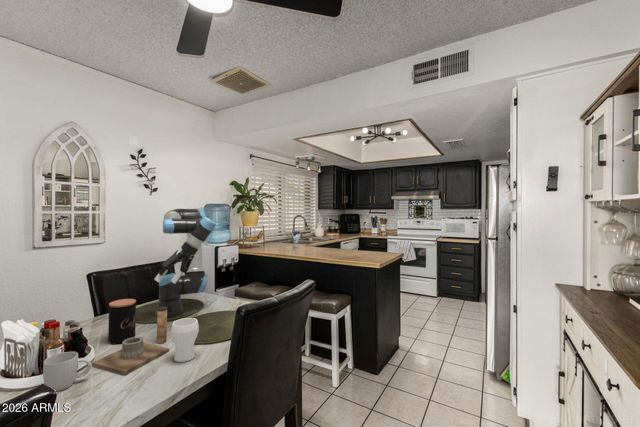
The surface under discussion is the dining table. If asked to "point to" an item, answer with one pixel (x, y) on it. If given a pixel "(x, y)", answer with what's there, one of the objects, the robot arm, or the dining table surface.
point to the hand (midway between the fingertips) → (165, 281)
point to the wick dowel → (161, 325)
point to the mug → (63, 370)
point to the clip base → (131, 363)
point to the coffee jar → (121, 320)
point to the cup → (184, 338)
